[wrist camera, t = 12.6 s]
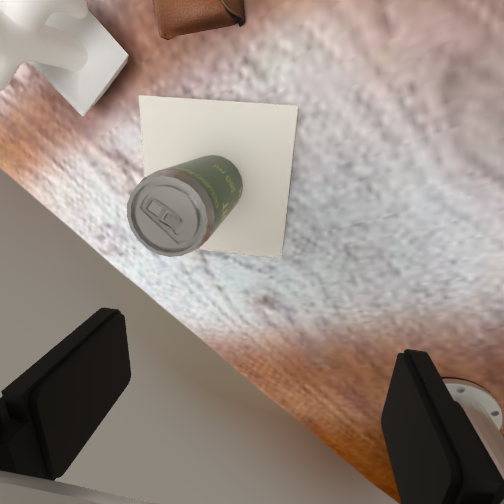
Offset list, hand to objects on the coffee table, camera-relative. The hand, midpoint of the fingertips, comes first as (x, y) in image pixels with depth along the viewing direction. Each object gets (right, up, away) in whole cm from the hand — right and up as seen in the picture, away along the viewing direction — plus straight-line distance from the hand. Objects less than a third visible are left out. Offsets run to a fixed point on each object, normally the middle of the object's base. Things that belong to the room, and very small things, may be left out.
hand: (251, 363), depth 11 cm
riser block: (-3, +12, +23) cm, 26 cm away
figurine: (-15, +23, +20) cm, 34 cm away
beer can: (-3, +10, +19) cm, 22 cm away
